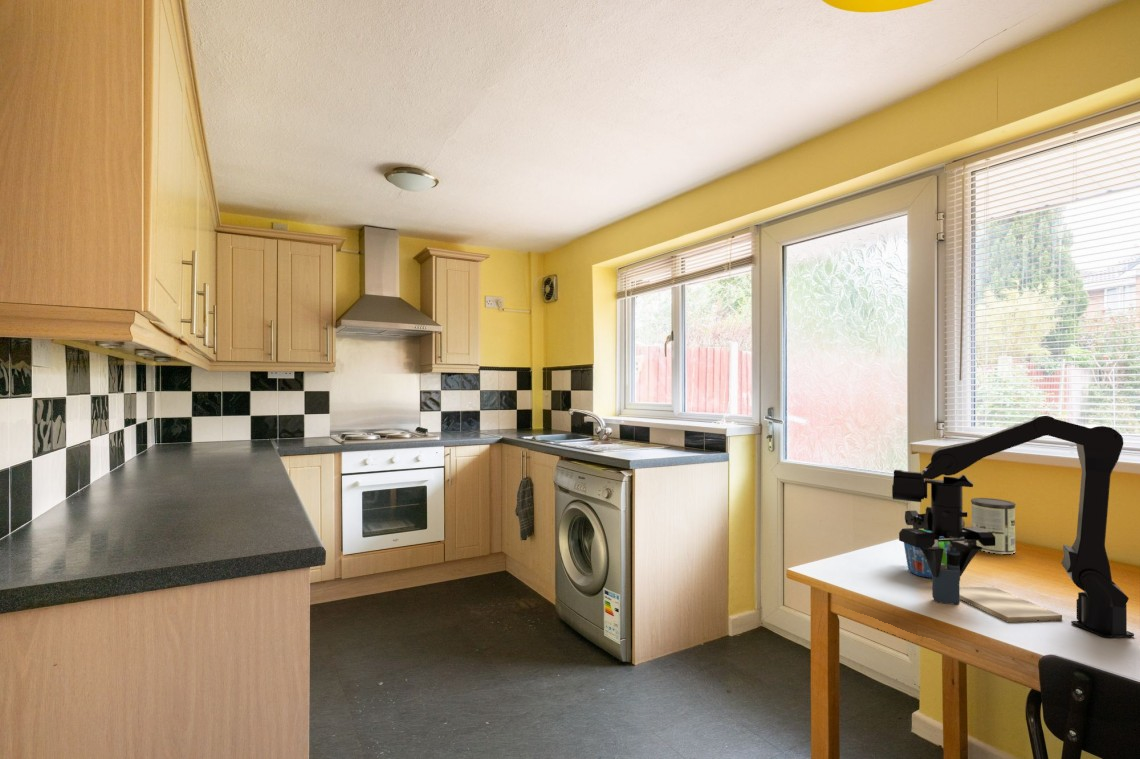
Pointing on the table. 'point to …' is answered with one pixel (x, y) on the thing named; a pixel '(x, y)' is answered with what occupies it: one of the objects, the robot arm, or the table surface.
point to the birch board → (1006, 605)
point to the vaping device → (948, 579)
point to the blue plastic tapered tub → (922, 558)
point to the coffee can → (995, 523)
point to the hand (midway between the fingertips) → (946, 576)
